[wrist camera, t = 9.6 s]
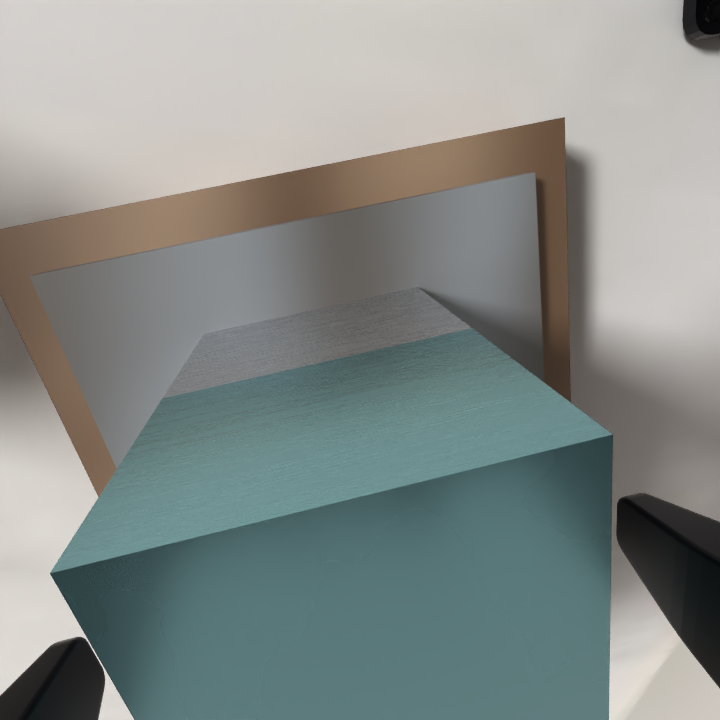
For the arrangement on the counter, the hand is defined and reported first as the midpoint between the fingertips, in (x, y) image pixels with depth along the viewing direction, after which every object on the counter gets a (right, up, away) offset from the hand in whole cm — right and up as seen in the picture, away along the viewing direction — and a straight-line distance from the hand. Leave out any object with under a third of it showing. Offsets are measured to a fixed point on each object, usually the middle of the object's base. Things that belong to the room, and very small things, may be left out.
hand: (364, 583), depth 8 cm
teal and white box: (-1, +2, +4) cm, 5 cm away
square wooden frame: (-1, +2, +7) cm, 7 cm away
